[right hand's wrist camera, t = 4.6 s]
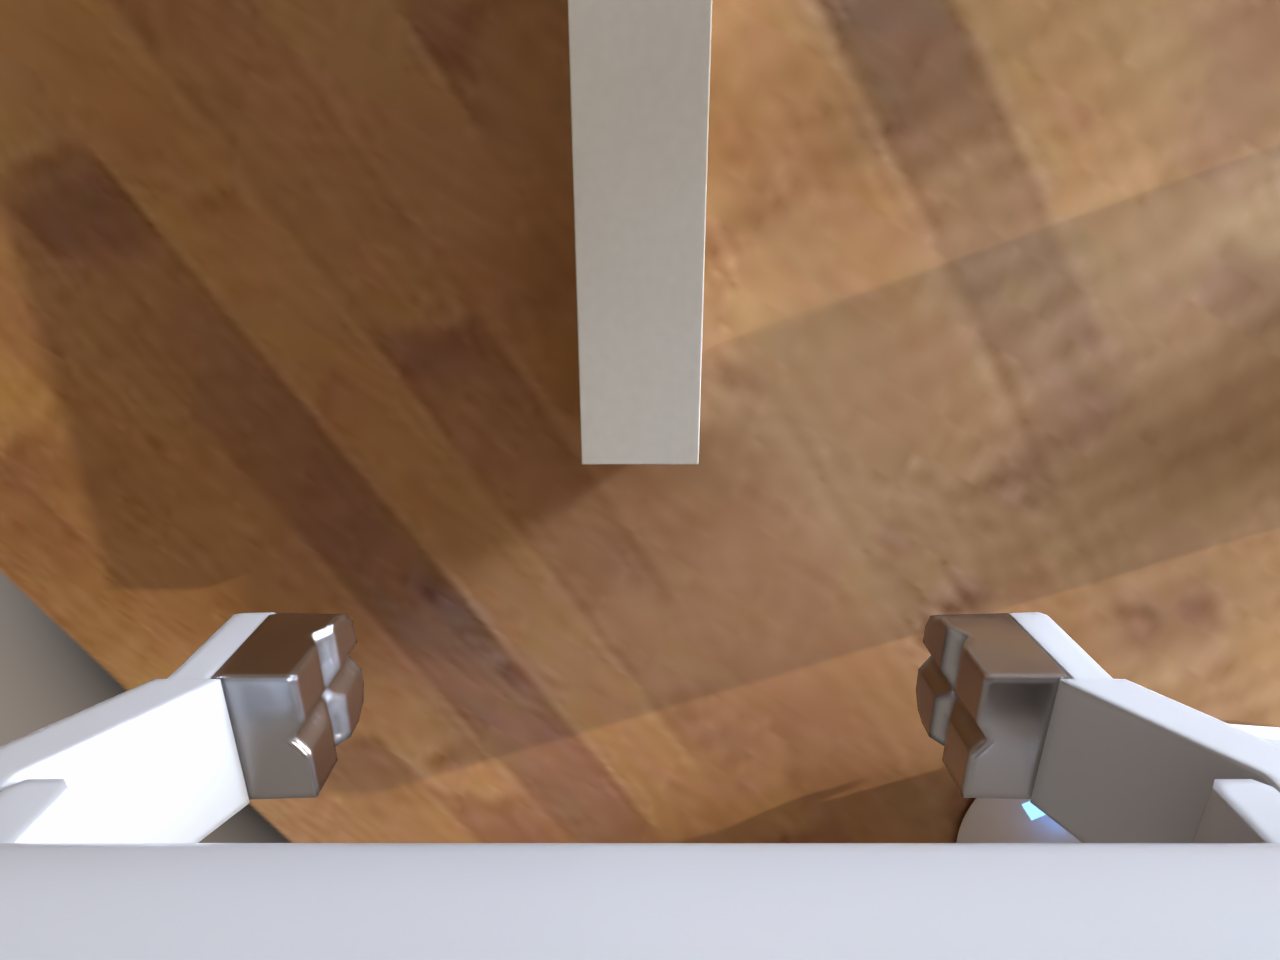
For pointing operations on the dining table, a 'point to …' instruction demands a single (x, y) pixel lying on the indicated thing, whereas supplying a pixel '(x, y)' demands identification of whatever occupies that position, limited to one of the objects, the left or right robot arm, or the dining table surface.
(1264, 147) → the dining table surface
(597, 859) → the right robot arm
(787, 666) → the dining table surface
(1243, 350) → the dining table surface
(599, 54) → the post
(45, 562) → the dining table surface
